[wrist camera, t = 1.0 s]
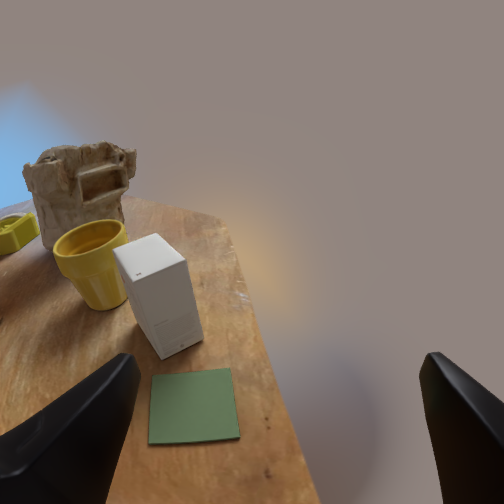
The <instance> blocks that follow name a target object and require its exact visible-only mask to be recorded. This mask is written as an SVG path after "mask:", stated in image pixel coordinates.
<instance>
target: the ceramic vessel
mask: <svg viewBox="0 0 504 504" xmlns="http://www.w3.org/2000/svg"><path fill="white" fill-rule="evenodd" d="M136 155H137V154H136V150H135V149H129V148H128V149H121V148H119V147H118V146H117V145H114V144H112V143H107V142H106V141H105V140H104V141H100V142H97V143H96V144H84V145H82V146H81V147H77V146H69V145H62V146H57V147H53V148H51V149H47V150H45V151H44V152H43V153H42V154H41V155H40V157H39V158H38V160H37V161H36V163H35V164H33V165H30V163H26V164H25V165H24V170H23V171H22V173H23V177H24V179H25V182H26V185H27V188H28V191H30V192H32V196H33V201H34V205H35V208H36V211H37V216H38V219H39V225H40V231H41V236H42V242H43V246H44V247H45V248H46V249H47V250H49V251H51V252H53V247H54V245H55V243H56V242H57V241H58V240H59V238H61V237H62V236H63V235H64V234H66V233H67V232H69V231H71V230H73V229H74V228H77V227H79V226H81V225H84V224H87V223H90V222H94V221H99V220H106V219H111V220H118V221H120V222H122V223H123V225H124V217H123V213H122V207H121V203H120V201H121V195H122V194H123V193H124V192H125V191H127V190H128V189H129V179H131V178H133V177H134V175H135V171H136Z"/></svg>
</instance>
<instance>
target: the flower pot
mask: <svg viewBox="0 0 504 504" xmlns="http://www.w3.org/2000/svg"><path fill="white" fill-rule="evenodd" d="M127 243H129V242H128V238H127V234H126V230H125V227H124V225H123V223H122V222H120V221H118V220H111V219H106V220H99V221H94V222H90V223H87V224H84V225H81V226H79V227H77V228H74V229H73V230H71V231H69V232H67V233H66V234H64V235H63V236H62V237H61V238H59V240H58V241H57V242H56V243H55V245H54V247H53V254H54V257H55V260H56V262H57V265H58V267H59V269H60V271H61V273H62V274H63V275H64V276H65V277H67V278H69V279H70V280H71V282H72V283H73V285H74V286H75V288H76V289H77V290H78V292H79V293H80V294H81V296H82V297H83V299H84V300H85V301H86V303H87V304H88V305H89V307H91V308H92V309H94V310H98V311H104V310H109V309H112V308H115V307H117V306H119V305H120V304H122V303H123V302H124V301H125V300H126V299H127V294H126V291H125V288H124V285H123V282H122V280H121V277H120V274H119V271H118V268H117V265H116V262H115V258H114V255H113V252H112V250H113V249H114V248H117V247H119V246H122V245H125V244H127Z"/></svg>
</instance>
